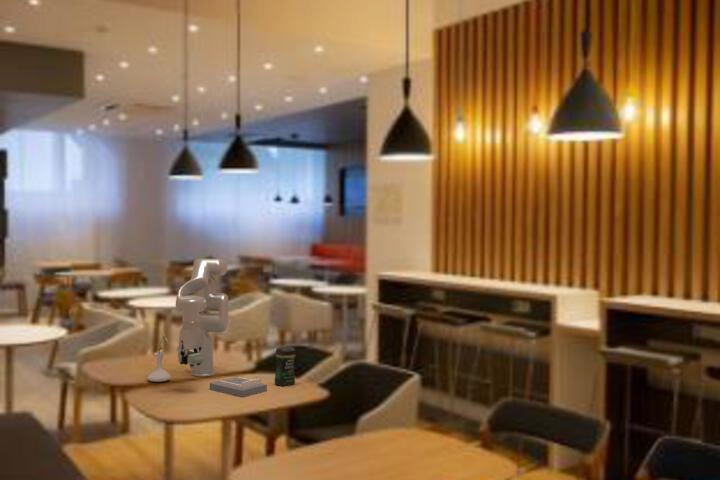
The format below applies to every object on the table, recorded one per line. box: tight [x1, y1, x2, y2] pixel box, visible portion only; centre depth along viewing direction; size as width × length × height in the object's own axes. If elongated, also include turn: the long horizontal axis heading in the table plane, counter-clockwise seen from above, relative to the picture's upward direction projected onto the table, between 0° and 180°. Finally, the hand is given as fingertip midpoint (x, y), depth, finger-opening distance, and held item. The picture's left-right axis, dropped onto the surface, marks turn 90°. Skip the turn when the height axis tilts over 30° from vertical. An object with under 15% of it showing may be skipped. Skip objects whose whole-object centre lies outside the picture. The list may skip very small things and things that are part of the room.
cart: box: [177, 349, 202, 367], centre depth 343 cm, size 10×6×7 cm, turn 53°
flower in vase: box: [147, 329, 172, 383], centre depth 362 cm, size 13×11×25 cm
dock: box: [209, 376, 268, 398], centre depth 346 cm, size 22×16×6 cm
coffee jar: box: [274, 346, 296, 387], centre depth 360 cm, size 10×8×19 cm
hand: (190, 362), depth 343 cm, fingers closed on cart, 6 cm apart
